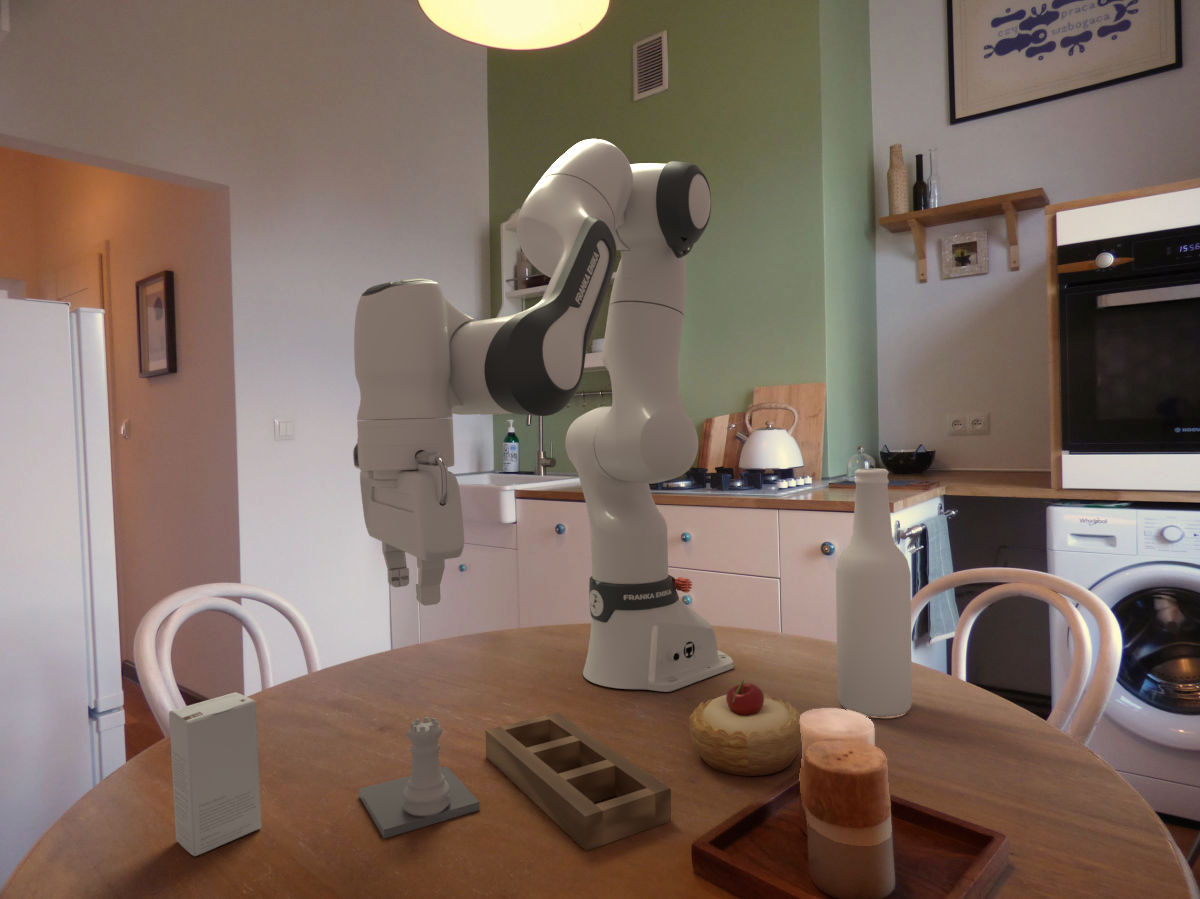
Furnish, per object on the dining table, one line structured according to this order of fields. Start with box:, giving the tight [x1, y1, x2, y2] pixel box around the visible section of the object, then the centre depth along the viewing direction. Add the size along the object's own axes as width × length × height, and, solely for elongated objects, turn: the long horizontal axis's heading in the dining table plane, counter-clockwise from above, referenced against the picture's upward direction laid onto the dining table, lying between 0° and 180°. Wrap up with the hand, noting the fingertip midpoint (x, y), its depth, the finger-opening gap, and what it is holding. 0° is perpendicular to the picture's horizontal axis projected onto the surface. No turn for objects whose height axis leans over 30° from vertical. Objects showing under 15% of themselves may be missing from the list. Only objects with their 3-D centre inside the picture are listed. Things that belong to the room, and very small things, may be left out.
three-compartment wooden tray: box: [484, 712, 672, 852], centre depth 76 cm, size 9×22×3 cm, turn 31°
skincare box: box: [168, 691, 262, 857], centre depth 67 cm, size 6×4×12 cm
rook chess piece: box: [402, 716, 451, 817], centre depth 70 cm, size 4×4×8 cm
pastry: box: [688, 680, 802, 777], centre depth 81 cm, size 12×12×9 cm
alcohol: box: [835, 468, 913, 719], centre depth 94 cm, size 9×9×30 cm
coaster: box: [358, 765, 481, 839], centre depth 73 cm, size 9×9×1 cm
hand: (412, 594), depth 72 cm, fingers open, 8 cm apart
